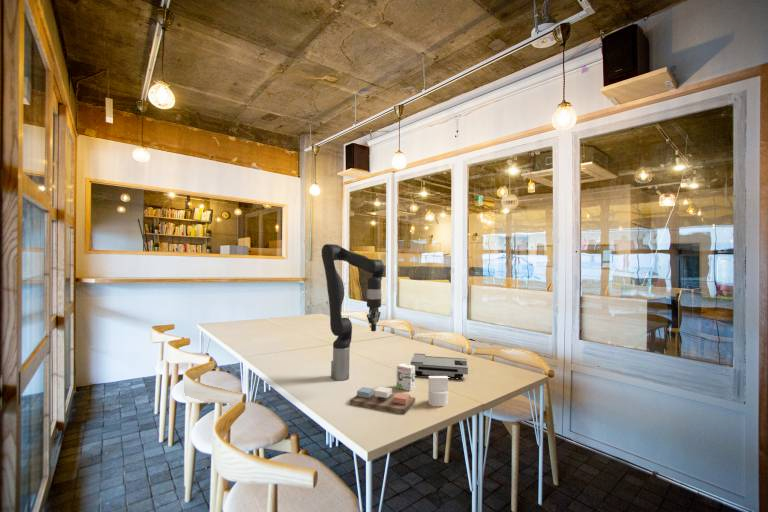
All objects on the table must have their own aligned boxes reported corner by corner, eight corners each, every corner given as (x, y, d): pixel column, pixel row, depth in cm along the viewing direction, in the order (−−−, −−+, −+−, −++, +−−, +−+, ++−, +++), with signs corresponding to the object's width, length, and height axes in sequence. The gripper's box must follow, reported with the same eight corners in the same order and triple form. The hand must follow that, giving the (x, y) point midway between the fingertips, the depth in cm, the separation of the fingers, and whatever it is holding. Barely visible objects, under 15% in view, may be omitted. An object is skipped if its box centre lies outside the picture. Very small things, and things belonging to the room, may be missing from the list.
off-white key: (374, 395, 164) (374, 390, 164) (379, 391, 169) (379, 386, 169) (386, 398, 161) (387, 392, 161) (391, 393, 167) (391, 388, 167)
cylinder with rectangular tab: (445, 399, 171) (445, 374, 171) (449, 406, 162) (450, 380, 162) (426, 399, 171) (427, 373, 171) (429, 406, 162) (430, 380, 162)
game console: (467, 381, 199) (467, 366, 200) (410, 376, 205) (410, 362, 206) (466, 370, 220) (466, 356, 220) (414, 366, 226) (414, 353, 226)
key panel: (350, 404, 163) (350, 396, 163) (364, 393, 177) (364, 386, 177) (404, 414, 153) (404, 406, 153) (415, 401, 167) (415, 394, 167)
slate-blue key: (356, 396, 167) (357, 390, 167) (362, 391, 172) (362, 386, 172) (368, 398, 165) (368, 392, 165) (374, 393, 170) (374, 388, 170)
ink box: (395, 388, 185) (396, 365, 186) (400, 385, 190) (401, 363, 190) (410, 391, 181) (411, 367, 181) (415, 388, 185) (415, 365, 185)
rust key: (393, 402, 160) (393, 397, 160) (397, 397, 166) (397, 392, 166) (405, 404, 158) (405, 399, 158) (410, 400, 163) (410, 394, 163)
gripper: (372, 296, 194) (372, 328, 194) (362, 298, 182) (361, 332, 182) (385, 297, 191) (385, 329, 191) (375, 299, 179) (375, 334, 179)
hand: (373, 331), depth 186 cm, fingers closed
